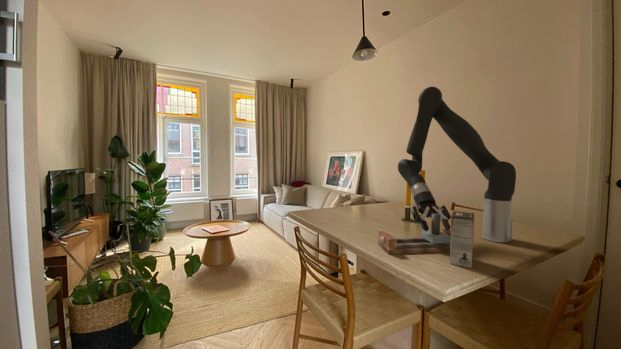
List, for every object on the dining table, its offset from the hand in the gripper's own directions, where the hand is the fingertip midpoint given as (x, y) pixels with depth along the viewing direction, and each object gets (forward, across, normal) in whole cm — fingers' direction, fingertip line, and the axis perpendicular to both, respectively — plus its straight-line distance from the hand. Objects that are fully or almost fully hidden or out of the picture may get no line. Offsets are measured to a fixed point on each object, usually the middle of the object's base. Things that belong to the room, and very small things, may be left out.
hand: (437, 230), depth 94 cm
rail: (+4, -6, +6) cm, 9 cm away
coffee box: (+14, +1, -3) cm, 14 cm away
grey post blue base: (+2, 0, +4) cm, 4 cm away
